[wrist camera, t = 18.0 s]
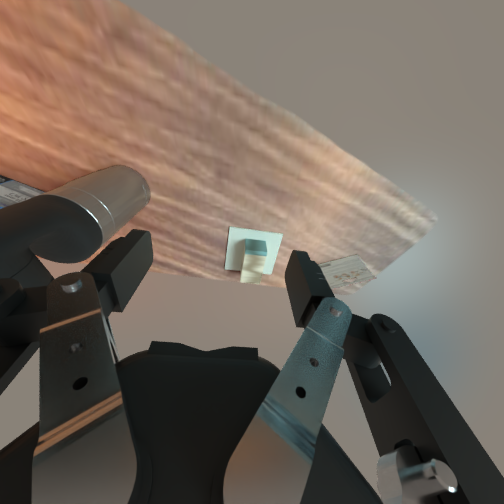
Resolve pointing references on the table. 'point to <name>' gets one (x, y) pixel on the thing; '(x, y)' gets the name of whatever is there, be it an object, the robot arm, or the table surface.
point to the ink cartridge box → (346, 271)
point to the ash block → (253, 261)
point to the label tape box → (15, 192)
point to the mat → (238, 242)
